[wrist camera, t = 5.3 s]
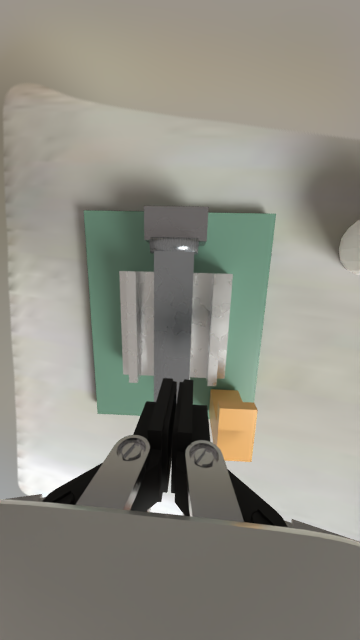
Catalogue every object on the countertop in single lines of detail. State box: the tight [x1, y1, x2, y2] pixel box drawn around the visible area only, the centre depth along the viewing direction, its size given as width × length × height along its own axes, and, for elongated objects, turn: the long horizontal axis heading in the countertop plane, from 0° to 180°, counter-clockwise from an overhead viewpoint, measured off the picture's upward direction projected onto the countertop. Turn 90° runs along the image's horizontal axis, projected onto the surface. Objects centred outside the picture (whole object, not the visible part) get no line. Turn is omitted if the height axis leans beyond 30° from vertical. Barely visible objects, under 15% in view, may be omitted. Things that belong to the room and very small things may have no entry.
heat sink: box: [119, 206, 233, 386], centre depth 20 cm, size 10×15×4 cm, turn 179°
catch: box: [209, 389, 258, 462], centre depth 21 cm, size 3×5×6 cm, turn 178°
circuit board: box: [84, 210, 276, 419], centre depth 23 cm, size 18×22×2 cm
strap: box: [150, 237, 199, 404], centre depth 18 cm, size 15×4×1 cm, turn 179°
